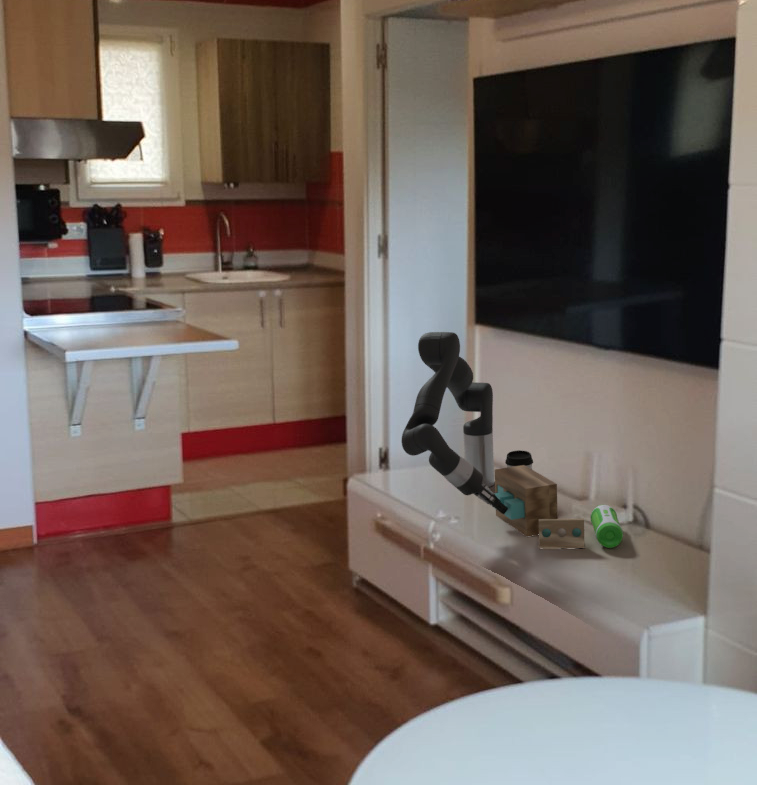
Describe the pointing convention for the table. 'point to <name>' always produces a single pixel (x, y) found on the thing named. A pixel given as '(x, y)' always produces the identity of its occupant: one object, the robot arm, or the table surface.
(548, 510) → the button panel
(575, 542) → the board
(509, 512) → the button
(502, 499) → the button middle
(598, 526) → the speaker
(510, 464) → the coffee cup
